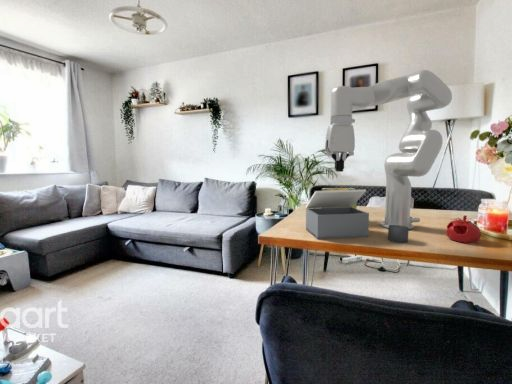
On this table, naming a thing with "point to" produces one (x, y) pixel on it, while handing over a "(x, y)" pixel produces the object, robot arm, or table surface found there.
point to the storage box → (337, 222)
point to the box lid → (334, 198)
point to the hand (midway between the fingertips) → (339, 171)
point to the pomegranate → (463, 231)
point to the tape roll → (398, 233)
